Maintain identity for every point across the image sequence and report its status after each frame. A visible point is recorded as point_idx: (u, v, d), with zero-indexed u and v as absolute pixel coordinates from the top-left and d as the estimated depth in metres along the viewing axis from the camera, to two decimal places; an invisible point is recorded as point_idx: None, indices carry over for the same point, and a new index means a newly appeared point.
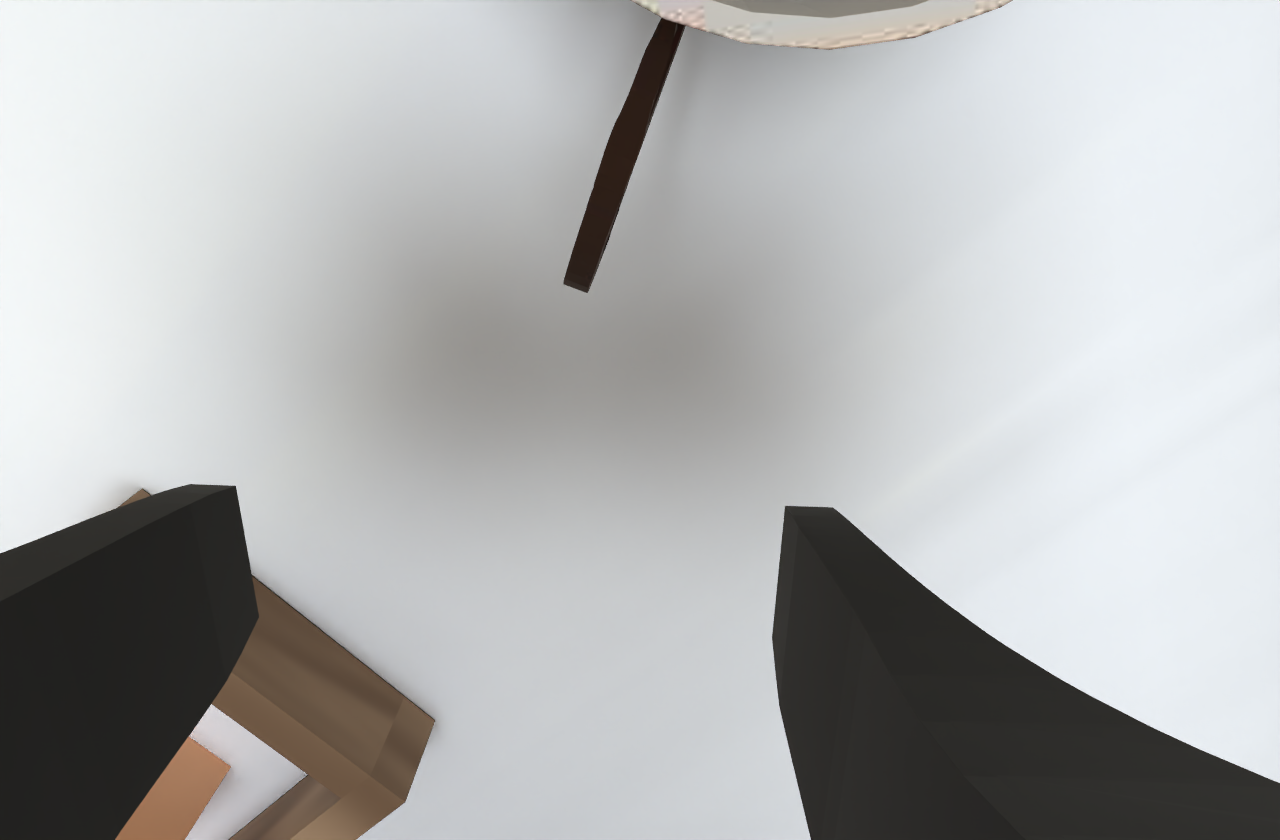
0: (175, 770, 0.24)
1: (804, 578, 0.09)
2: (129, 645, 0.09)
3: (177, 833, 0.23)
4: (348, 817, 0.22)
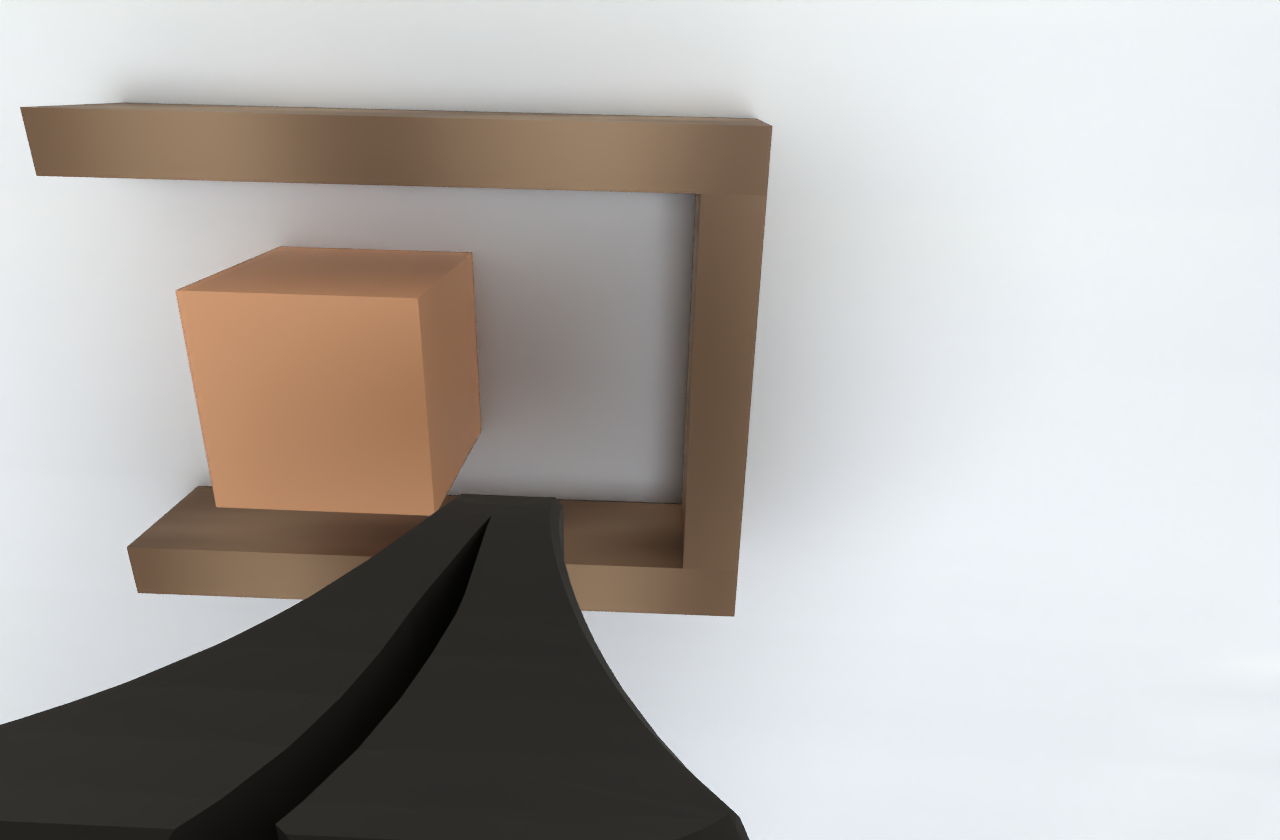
0: (467, 397, 0.19)
1: None
2: None
3: (454, 467, 0.18)
4: (665, 589, 0.19)
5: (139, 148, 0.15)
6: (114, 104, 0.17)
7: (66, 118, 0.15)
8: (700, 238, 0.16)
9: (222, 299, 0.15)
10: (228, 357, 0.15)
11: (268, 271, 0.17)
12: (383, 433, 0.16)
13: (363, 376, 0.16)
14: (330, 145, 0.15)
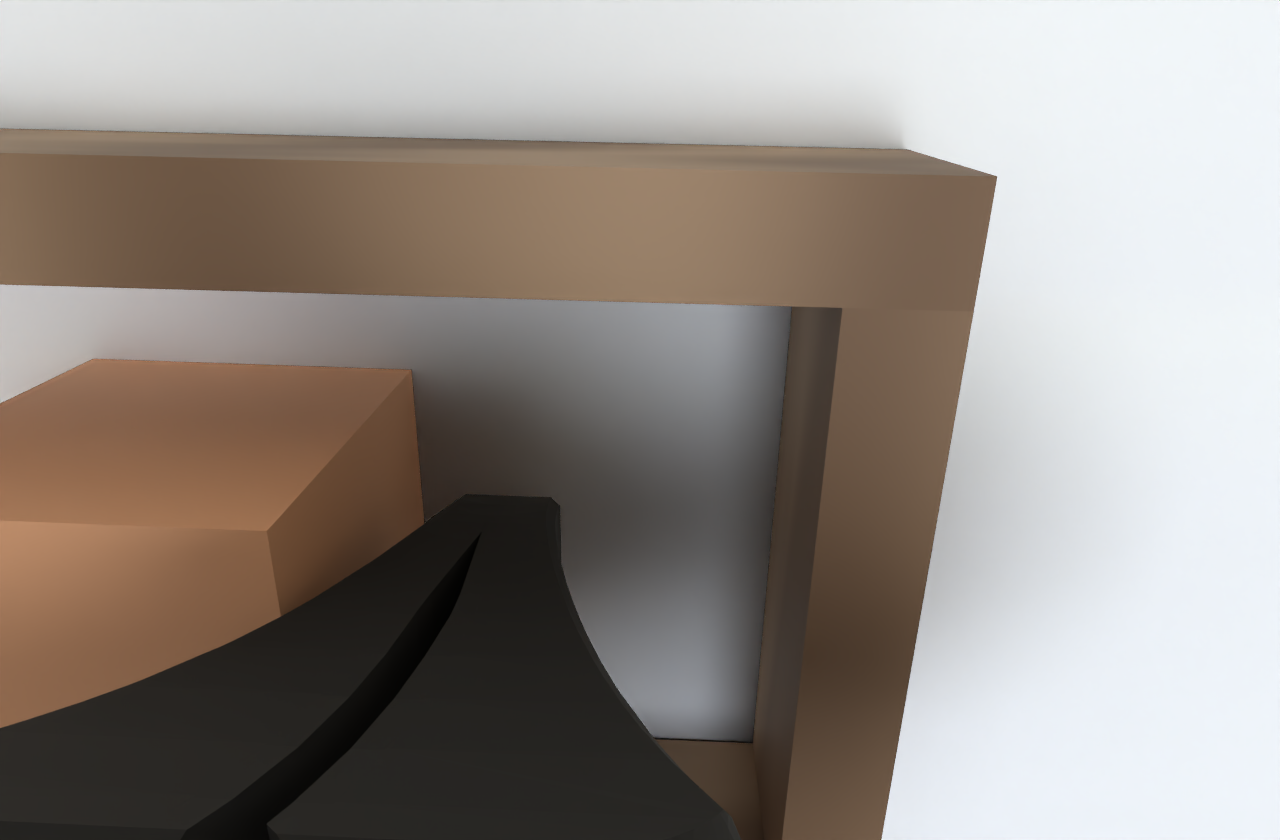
0: None
1: None
2: None
3: None
4: None
5: None
6: None
7: None
8: (836, 390, 0.08)
9: None
10: None
11: (19, 436, 0.09)
12: None
13: None
14: (106, 214, 0.08)
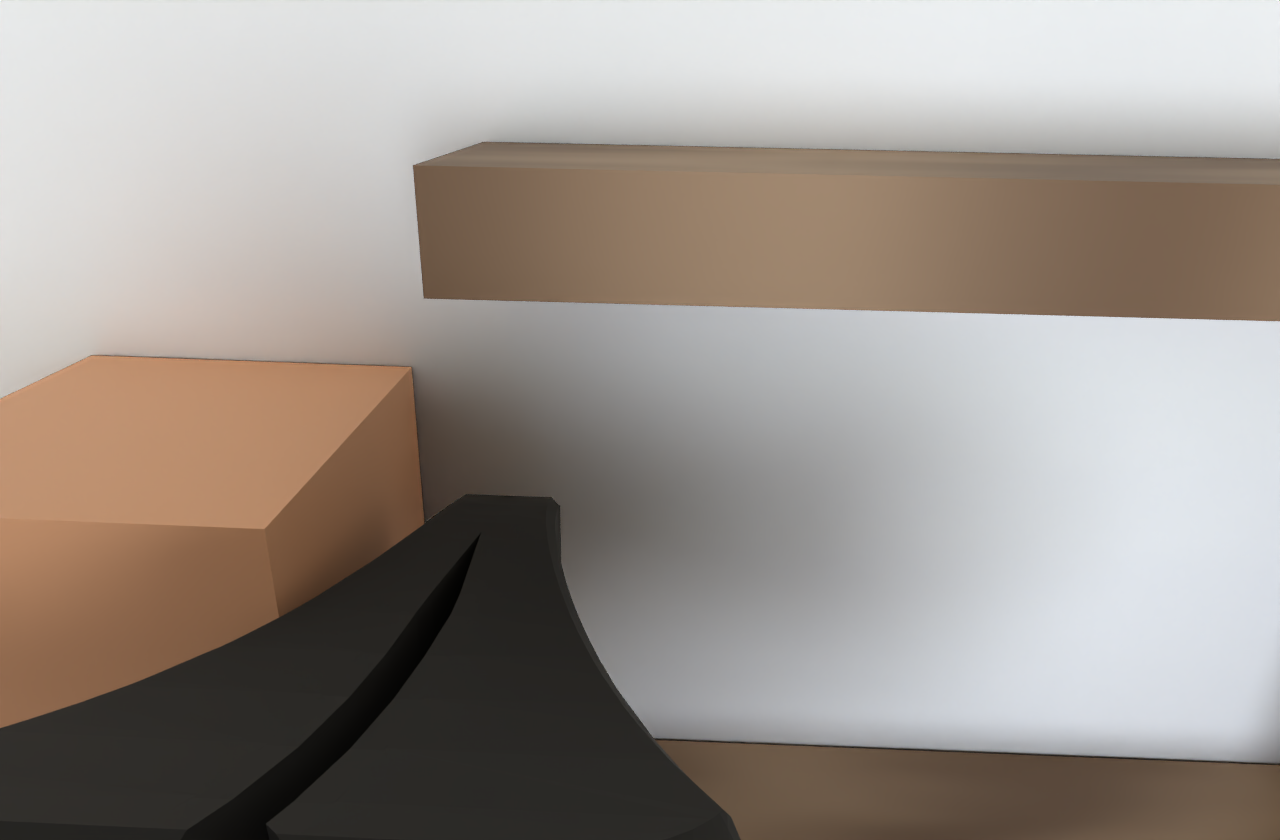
0: None
1: None
2: None
3: None
4: None
5: (645, 247, 0.08)
6: (504, 148, 0.09)
7: (506, 188, 0.07)
8: None
9: None
10: None
11: (15, 433, 0.09)
12: None
13: (167, 666, 0.08)
14: (1045, 240, 0.07)
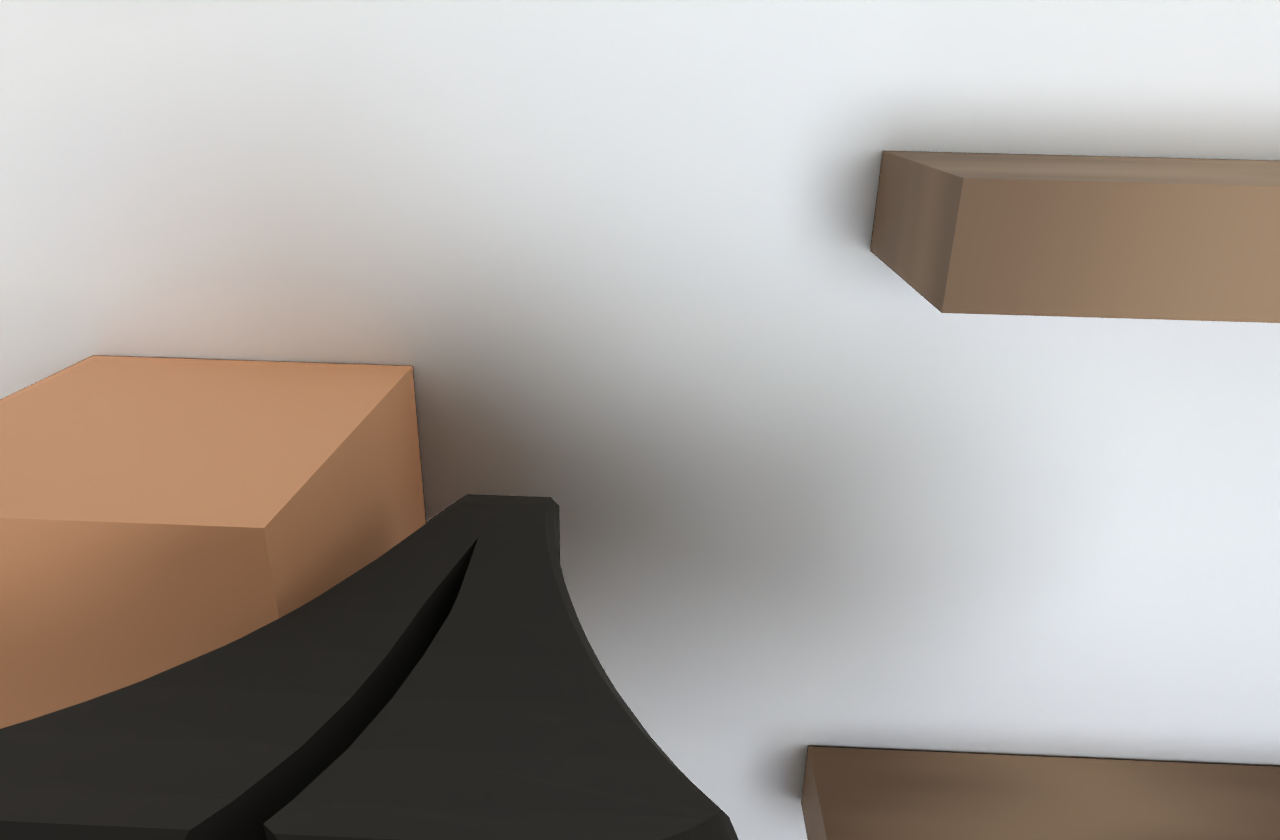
0: None
1: None
2: None
3: None
4: None
5: (1184, 262, 0.07)
6: (939, 158, 0.09)
7: (1053, 201, 0.07)
8: None
9: None
10: None
11: (16, 433, 0.09)
12: None
13: (168, 665, 0.08)
14: None
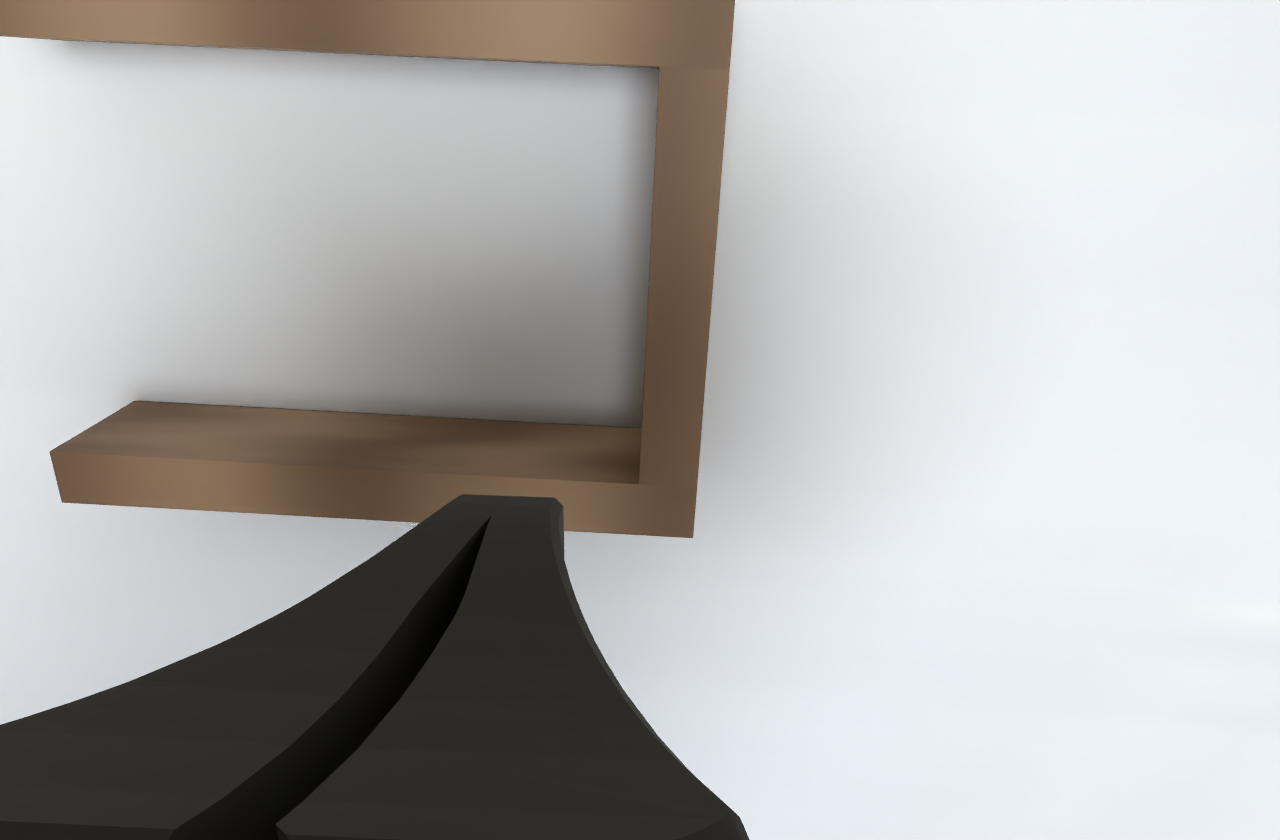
0: None
1: None
2: None
3: None
4: (620, 506, 0.18)
5: (57, 4, 0.14)
6: None
7: None
8: (658, 116, 0.15)
9: None
10: None
11: None
12: None
13: None
14: (263, 3, 0.14)
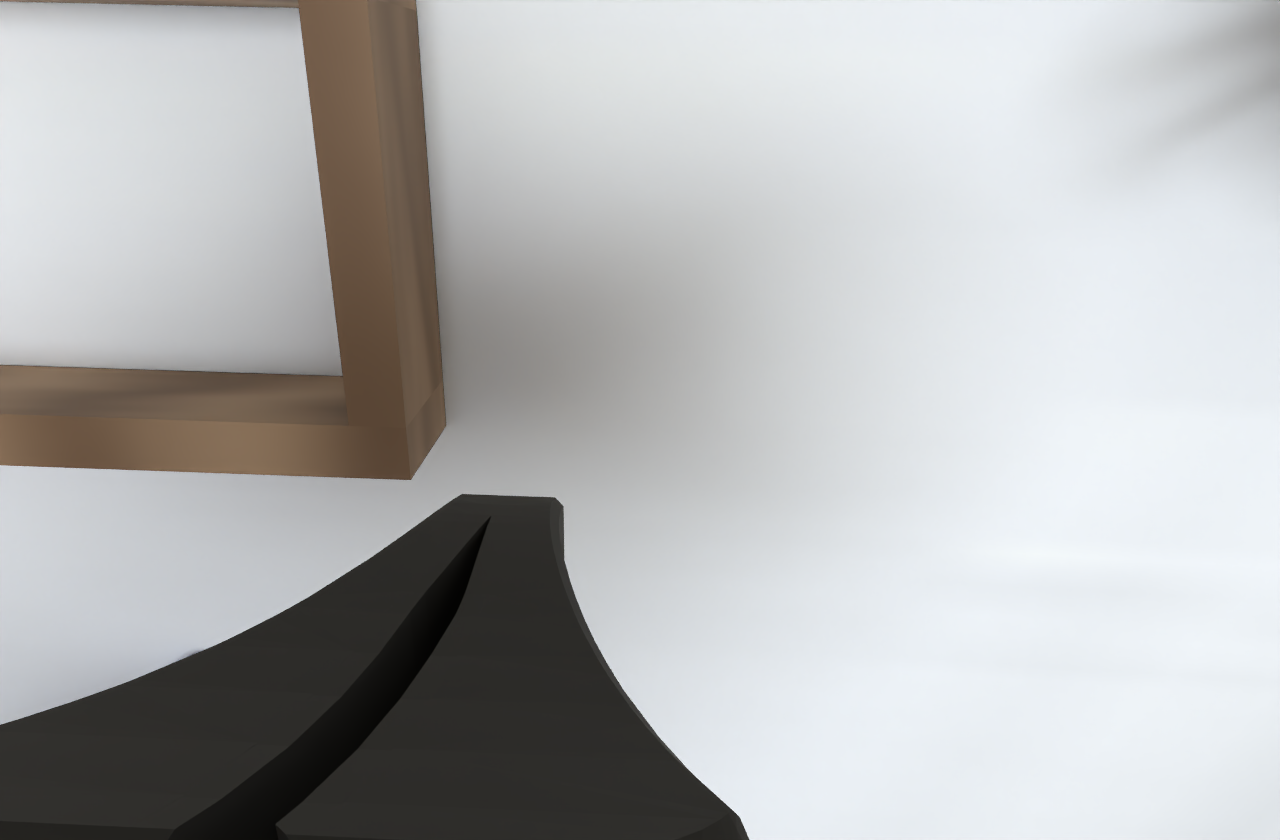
0: None
1: None
2: None
3: None
4: (334, 449, 0.18)
5: None
6: None
7: None
8: (304, 47, 0.15)
9: None
10: None
11: None
12: None
13: None
14: None
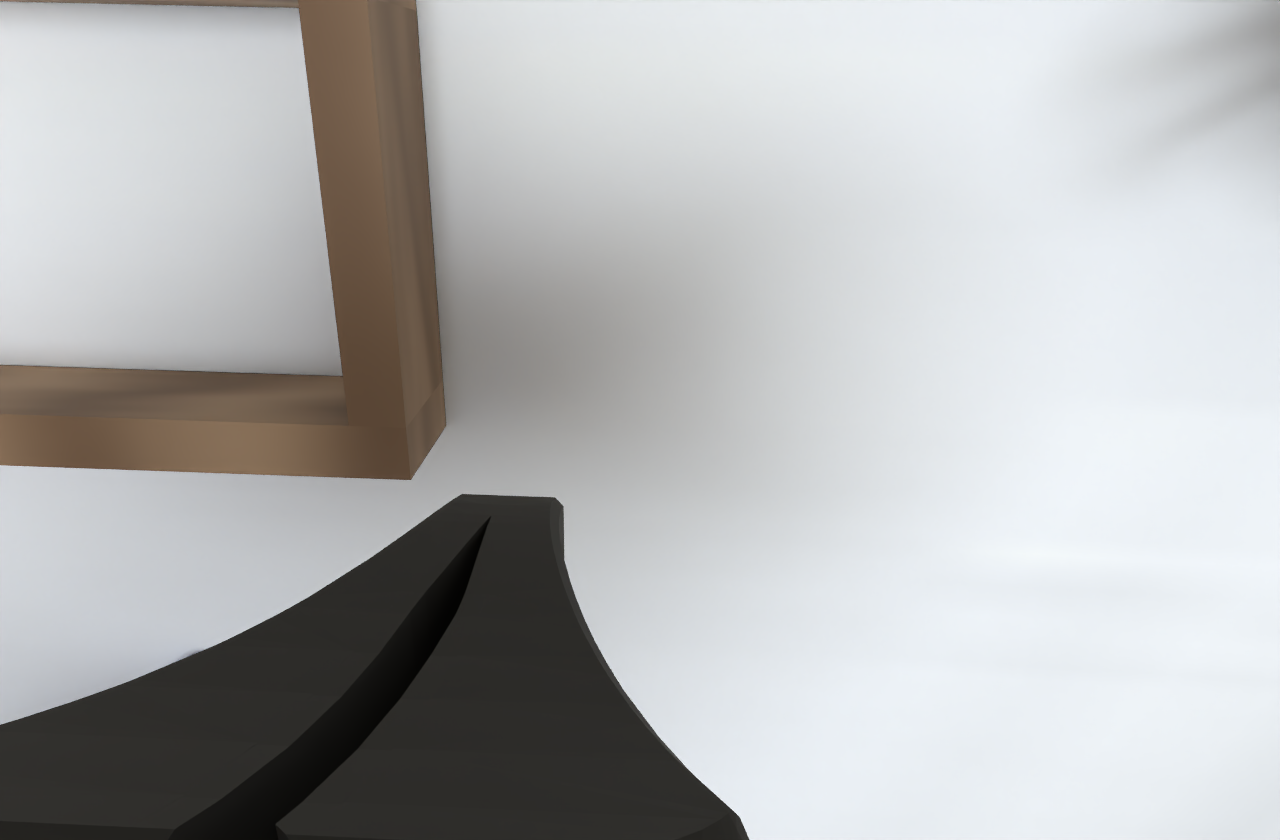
0: None
1: None
2: None
3: None
4: (334, 449, 0.18)
5: None
6: None
7: None
8: (304, 47, 0.15)
9: None
10: None
11: None
12: None
13: None
14: None
